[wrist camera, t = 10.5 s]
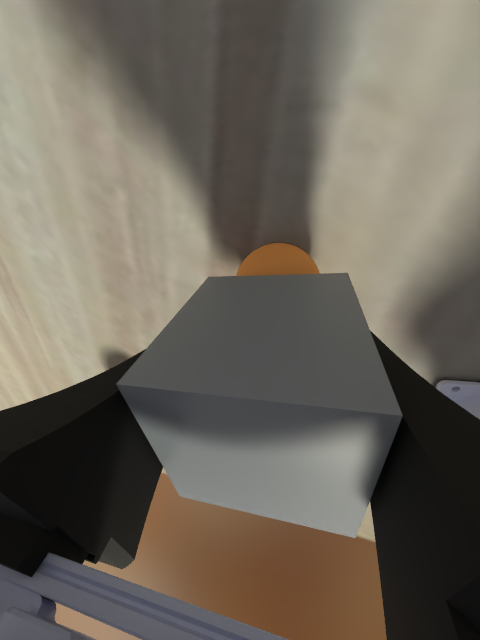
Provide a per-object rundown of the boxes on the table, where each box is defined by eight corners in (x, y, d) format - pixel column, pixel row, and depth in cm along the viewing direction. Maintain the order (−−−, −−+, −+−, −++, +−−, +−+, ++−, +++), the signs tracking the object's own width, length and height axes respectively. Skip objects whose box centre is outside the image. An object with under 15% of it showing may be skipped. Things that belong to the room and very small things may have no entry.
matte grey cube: (347, 273, 9) (403, 415, 4) (334, 379, 13) (355, 538, 7) (208, 276, 11) (115, 384, 6) (227, 370, 14) (180, 496, 9)
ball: (326, 326, 11) (320, 329, 15) (322, 220, 11) (317, 255, 16) (222, 328, 12) (246, 331, 17) (222, 234, 12) (245, 262, 17)
